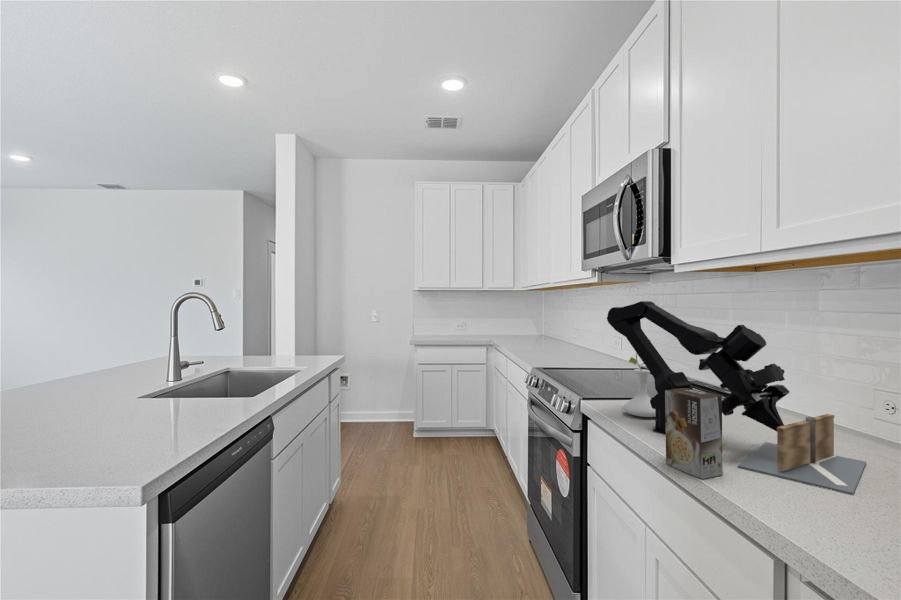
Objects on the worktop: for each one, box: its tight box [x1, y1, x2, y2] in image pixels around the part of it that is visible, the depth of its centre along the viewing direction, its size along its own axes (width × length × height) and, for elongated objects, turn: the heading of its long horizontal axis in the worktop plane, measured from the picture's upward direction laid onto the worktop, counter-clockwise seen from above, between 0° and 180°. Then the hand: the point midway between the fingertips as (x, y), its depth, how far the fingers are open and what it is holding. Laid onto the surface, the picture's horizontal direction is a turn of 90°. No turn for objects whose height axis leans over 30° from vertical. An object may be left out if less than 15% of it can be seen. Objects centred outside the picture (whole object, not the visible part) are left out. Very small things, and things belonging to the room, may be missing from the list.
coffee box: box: [665, 388, 724, 480], centre depth 92 cm, size 9×6×16 cm
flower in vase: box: [622, 339, 655, 418], centre depth 136 cm, size 13×11×25 cm
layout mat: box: [737, 441, 867, 496], centre depth 94 cm, size 18×23×1 cm
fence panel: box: [776, 420, 811, 471], centre depth 92 cm, size 11×1×9 cm, turn 118°
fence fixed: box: [805, 413, 835, 463], centre depth 97 cm, size 2×10×10 cm, turn 118°
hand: (784, 432), depth 95 cm, fingers closed
